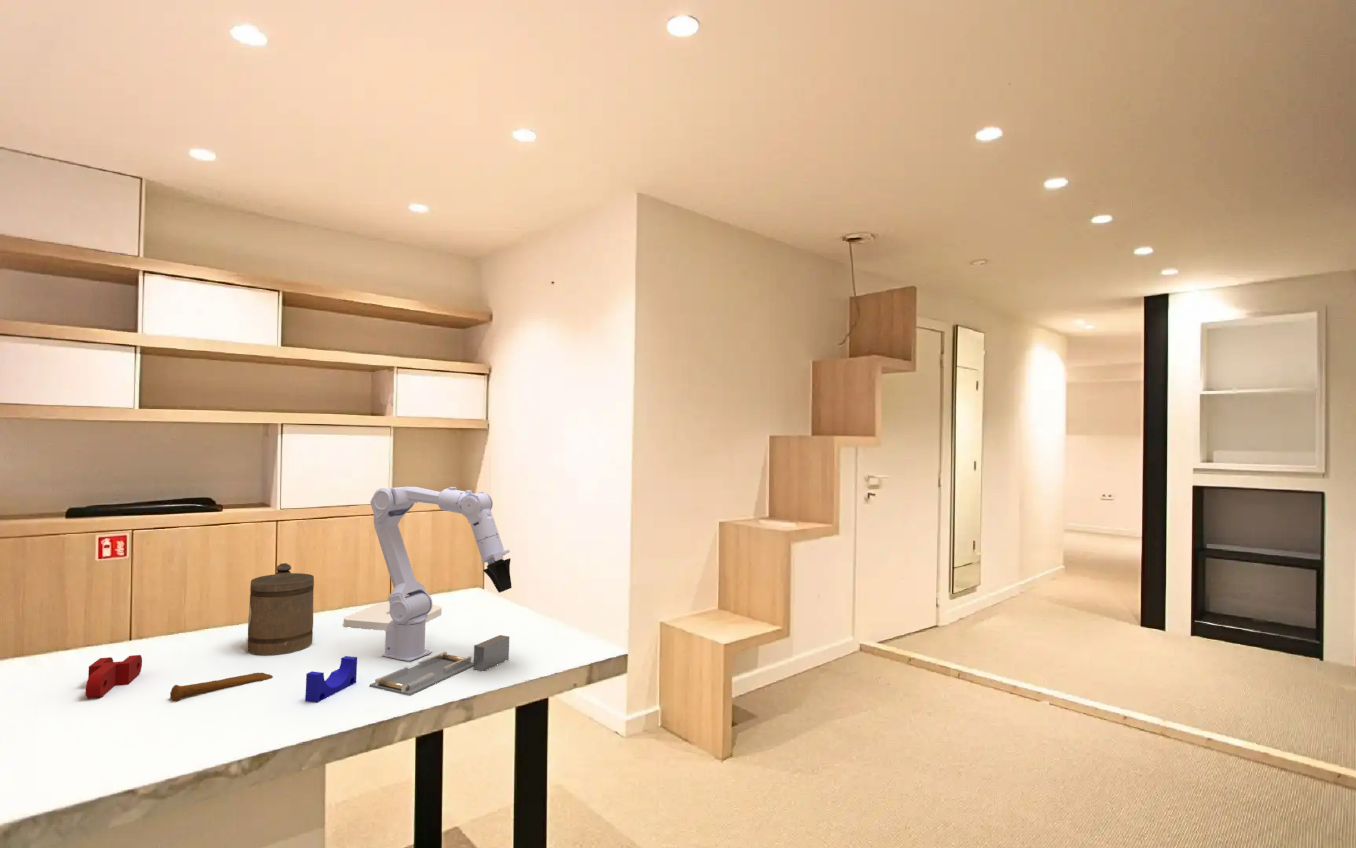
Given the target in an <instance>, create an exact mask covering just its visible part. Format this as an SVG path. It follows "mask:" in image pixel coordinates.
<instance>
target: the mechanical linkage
mask: <svg viewBox="0 0 1356 848" xmlns="http://www.w3.org/2000/svg"><path fill="white" fill-rule="evenodd" d="M142 667H143V657H142V655H141V654H136V655H128V656H127V657H126V658H125V659H124V660H123V661H114V659H113V657H112V656H110V657H99V658H98V659H97V660H96V661H94V662H93V663H92V664H90V665H89V666H88V673H87V674H88V677H87V678H88V679H87V681H86V686H85V696H86V698H87V699H94V698H103V697H105V696H106V695H107V694H108V693H109V692H110V691H111V690H112V689H113V688H114V687H120V686H128V685H130V684H131V683H132V682H133V681H135V679H136V678H138V676H140V674H141V671H142Z"/></svg>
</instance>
